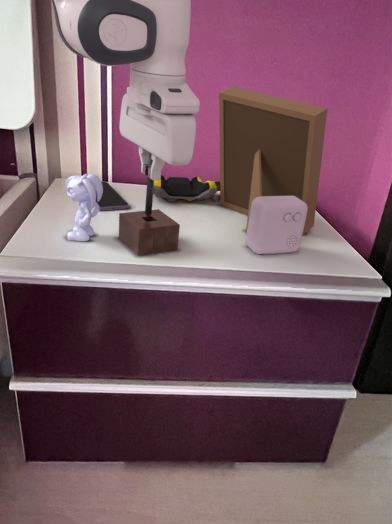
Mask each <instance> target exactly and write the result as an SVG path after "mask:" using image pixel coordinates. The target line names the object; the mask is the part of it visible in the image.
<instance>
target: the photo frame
mask: <svg viewBox="0 0 392 524" xmlns="http://www.w3.org/2000/svg"><path fill="white" fill-rule="evenodd" d="M218 115H219V118H218V120H219V124H218V126H219V127H218V128H219V181H220V190H219V193H220V194H219V195H220V201H219V202H220V203H219V205H220V206H222V207H224V208H227V209H230V210H234V211H235V212H238V213H241V214H244V215H246V216H247V219H246V226H245V227H246V228H245V231H247V229H248V223H249V216H250V210H251V204H252V201H253V200H254V199H255V198H256V197H259V196H296V197H297V198H299V199H300V200H302V201H303V202H305V203H306V205H307V207H308V211H307V215H306V220H305V225H304V229H303V234H302V236H304V235H306V233H307V232H309V231H310V230H311V229H312V228H313V227H314V226H315V219H316V212H317V211H316V210H317V201H318V195H319V184H320V176H321V168H322V160H323V159H322V158H323V151H324V143H325V134H326V126H327V116H328V107H324V106H320V105H315V104H312V103H308V102H307V103H306V102H302V101H299V100H295V99H289V98H286V97H280V96H277V95H273V94H268V93H264V92H259V91H255V90H252V89H251V90H250V89H246V88H242V87H238V86H233V85H232V86H230V87H227V88H225V89H223V90H220V91H219V92H218Z"/></svg>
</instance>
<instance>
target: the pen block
mask: <svg viewBox="0 0 392 524" xmlns="http://www.w3.org/2000/svg"><path fill="white" fill-rule="evenodd" d="M118 215H119V216H118V240H119V241H120V242H122V243H123V244H124V245H125V246H126V247H127V248H129V249H130V250H131V251H132V252H133V253H134V254H135V255H136V256H137V257H141V256H146V255H152V254H153V255H154V254H159V253H167V252H175V251H178V249H179V239H180V227H181V224H179V223H178V222H177V221H175V220H174V219H173V218H171V217H170V216H169V215H167V214H166V213H165V212H164V211H162V210H161V209H159V208H158V209H152V214H151V216H146V215H145V210H137V211H127V212H119V214H118Z"/></svg>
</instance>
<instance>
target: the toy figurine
mask: <svg viewBox="0 0 392 524" xmlns="http://www.w3.org/2000/svg"><path fill="white" fill-rule="evenodd" d="M101 181H102V180H101V179H100V177H99V176H97V175H96V174H94V173H84V174H83V175H79V174H78V175H76V174H75V175H71V176H69V177H68V178H66V180H65V183H64V184H65V188H66V196H67V197H68V198H70V199H71V200H72V201H73V202H79V203H78V209H77V211H76V213H75V216H74V223H75V224H76V225H75V226H73V228H72V230H70V231H68V232H67V234H66V238H67V240H68V241H75V242H88V241H89V240H90V239H91V238H90V237H93V236H94V235H95V231H94V228H93V227H92V225H91V221H92V218H94V217H96V216H97V215H98V214H99V211H100V210H99V205H98V204H97V202H99V201H100V199H101V197H102V194H103V185H102V182H101ZM95 190H96V191H95ZM96 192H97V202H96Z"/></svg>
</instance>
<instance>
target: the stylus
mask: <svg viewBox="0 0 392 524" xmlns="http://www.w3.org/2000/svg"><path fill="white" fill-rule="evenodd" d="M151 157H152V154H151V153H150V152H149V161H148V168H151V165H152V162H153V160H152V159H151ZM153 188H154V180H152V179H150V178H149V177H148V176H146V191H145V192H146V193H145V207H144V208H145V209H144V211H145V215H146V216H151V214H152V210H153V201H154V194H153Z"/></svg>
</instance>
